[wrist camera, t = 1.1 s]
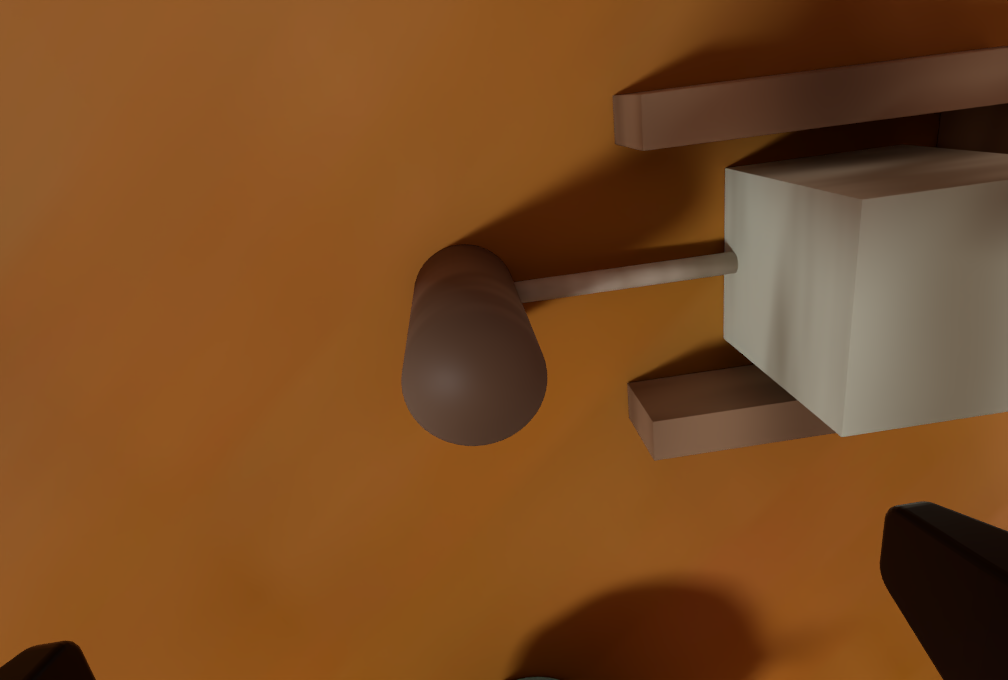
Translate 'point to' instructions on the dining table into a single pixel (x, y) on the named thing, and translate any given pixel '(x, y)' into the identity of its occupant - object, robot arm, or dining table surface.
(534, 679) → the cupcake
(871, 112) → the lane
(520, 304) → the block with cord
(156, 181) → the dining table surface
